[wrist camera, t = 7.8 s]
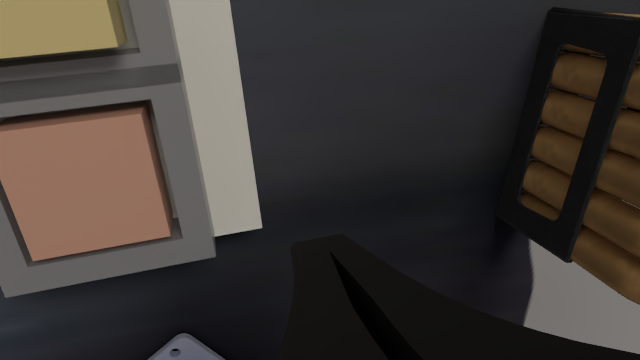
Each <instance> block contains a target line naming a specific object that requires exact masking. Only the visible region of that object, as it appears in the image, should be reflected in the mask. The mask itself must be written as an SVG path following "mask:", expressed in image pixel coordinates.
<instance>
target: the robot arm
mask: <svg viewBox="0 0 640 360" xmlns="http://www.w3.org/2000/svg"><path fill="white" fill-rule="evenodd" d="M291 255H292V263H293V272H294V293H293V300H292V306H291V312H290V317H289V322H288V326H287V330H286V334H285V338H284V342H283V345H282V348H281V352H280V355H279V358H278V360H640V354H636V353H631V352H626V351H621V350H617V349H612V348H607V347H602V346H597V345H592V344H587V343H582V342H578V341H574V340H570V339H566V338H563V337H559V336H555V335H551V334H548V333H543V332H540V331H537V330H534V329H530V328H527V327H524V326H521V325H517V324H514V323H511V322H509V321H506V320H503V319H500V318H497V317H495V316H492V315H489V314H486V313H483V312H481V311H478V310H476V309H473V308H471V307H468V306H466V305H464V304H462V303H459V302H457V301H455V300H453V299H451V298H448V297H446V296H444V295H442V294H440V293H438V292H436V291H434V290H432V289H430V288H428V287H426V286H424V285H422V284H421V283H419V282H417V281H415V280H413V279H411V278H410V277H408V276H406V275H404V274H403V273H401V272H399V271H398V270H396V269H394V268H393V267H391V266H390V265H388V264H387V263H385V262H383V261H382V260H380V259H379V258H377V257H376V256H374V255H373V254H371V253H370V252H368V251H367V250H366V249H364V248H363V247H361V246H360V245H358V244H357V243H355V242H354V241H353V240H351V239H350V238H348V237H347V236H345V235H344V234H338V235H332V236H327V237H322V238H317V239H312V240H307V241H302V242H297V243H294V244H293V246H292V247H291ZM176 348H177V349H179V350H178V351H172V349H176ZM148 360H225V359H224V358H222V357H221V356H219V355H218V354H217V353H215V352H214V351H212V350H211V349H210V348H208V347H207V346H205V345H204V344H202V343H201V342H200V341H198V340H197V339H195V338H194V337H193V336H191V335H189V334H186V333H182V334H179V335H177V336H175V337H174V338H173V339H172V340H170V341H169V342H168V343H167V344H166V345H164V346H163V347H162V348H161V349H160V350H158V351H157V352H156V353H155V354H154V355H152V356H151V357H150V358H149V359H148Z"/></svg>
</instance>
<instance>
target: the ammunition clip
mask: <svg viewBox="0 0 640 360" xmlns="http://www.w3.org/2000/svg"><path fill="white" fill-rule="evenodd" d="M591 54H592V55H599V56H604V57H605V58H602V57H596V56H590V55H591ZM636 61H640V15H632V14H614V13H603V12H594V11H586V10H576V9H566V8H557V7H553V8H552V9H551V10H549V11H548V14H547V18H546V22H545V26H544V29H543V33H542V37H541V41H540V45H539V49H538V53H537V57H536V61H535V65H534V69H533V73H532V76H531V80H530V84H529V88H528V92H527V96H526V100H525V104H524V108H523V112H522V116H521V120H520V123H519V127H518V131H517V135H516V139H515V143H514V147H513V151H512V155H511V159H510V163H509V167H508V170H507V174H506V178H505V182H504V186H503V190H502V194H501V198H500V202H499V206H498V210H497V214H496V216H497V217H498V218H500V219H501V220H503V221H504V222H506V223H507V224H509V225H510V226H512V227H513V228H515V229H516V230H518V231H519V232H521V233H522V234H524V235H525V236H527V237H528V238H530V239H531V240H533V241H534V242H536V243H537V244H539V245H540V246H542V247H543V248H545V249H546V250H548V251H550V252H551V253H552V254H554V255H556V256H557V257H558V258H560V259H561V260H563V261H564V262H567V263H569V262H570V263H571V262H572V261H574V262H575V263H577V264H578V265H579V266H581V267H582V268H584V269H585V270H587V271H588V272H589V273H591V274H592V275H594V276H595V277H597V278H598V279H599V280H601V281H602V282H604V283H605V284H606V285H608V286H609V287H611V288H612V289H613V290H615V291H616V292H618V293H619V294H621V295H622V296H624V297H625V298H627V299H629V300H631V301H633V302H635V303H637V304H640V209H639V208H640V160H638V159H640V64H638V63H636ZM578 94H579V95H583V96H587V97H591V98H595V99H596V100H593V99H589V98H585V97H582V96H578ZM621 106H626V107H628V108H627V109H625V108H621ZM575 135H576V136H575ZM583 138H584V139H583ZM607 147H608V148H607ZM609 148H611V149H609ZM612 149H613V150H612ZM637 158H638V159H637ZM594 186H595V187H594ZM596 187H597V188H596ZM598 188H599V189H598ZM623 200H624V201H623ZM625 201H626V202H625ZM627 202H628V203H627ZM629 203H630V204H629ZM631 204H632V205H631ZM633 205H634V206H633ZM635 206H636V207H638V208H636V207H635Z"/></svg>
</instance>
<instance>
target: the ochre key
mask: <svg viewBox="0 0 640 360" xmlns="http://www.w3.org/2000/svg"><path fill="white" fill-rule="evenodd" d="M126 41H128V40H127V35H126V31H125V27H124V23H123V19H122V15H121V10H120V6H119V2H118V0H0V59H2V58H12V57H22V56H32V55H42V54H52V53H62V52H72V51H83V50H93V49H103V48H113V47H119V46H120V45H122V44H123V43H125V42H126Z"/></svg>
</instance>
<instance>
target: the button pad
mask: <svg viewBox="0 0 640 360" xmlns="http://www.w3.org/2000/svg"><path fill="white" fill-rule="evenodd" d="M118 2H119V6H120V10H121V15H122V19H123V23H124V27H125V31H126V35H127V40H128V41H126V42H125V43H123V44H122V45H120V46H119V47H113V48H103V49H93V50H83V51H72V52H62V53H52V54H42V55H32V56H22V57H12V58H2V59H0V122H2V121H3V120H5V119H6V118H14V117H22V116H30V115H38V114H46V113H55V112H63V111H71V110H79V109H87V108H95V107H103V106H111V105H120V104H128V103H136V102H144V101H147V103H148V107H149V112H150V116H151V120H152V124H153V129H154V133H155V137H156V141H157V146H158V150H159V154H160V159H161V163H162V167H163V171H164V176H165V180H166V184H167V188H168V193H169V197H170V201H171V206H172V210H173V220H172V229H171V236H169V237H164V238H158V239H153V240H147V241H142V242H136V243H131V244H125V245H120V246H114V247H109V248H103V249H98V250H92V251H87V252H81V253H76V254H70V255H65V256H59V257H54V258H48V259H43V260H37V261H33V260H32V258H31V255H30V253H29V250H28V248H27V245H26V243H25V240H24V238H23V235H22V233H21V230H20V228H19V225H18V223H17V220H16V218H15V215H14V213H13V210H12V208H11V205H10V203H9V200H8V198H7V195H6V193H5V190H4V188H3V185H2V183H1V180H0V286H1V288H2V291H3V293H4V295H5V297H6V298H7V297H12V296H17V295H22V294H27V293H33V292H38V291H43V290H48V289H53V288H58V287H63V286H69V285H74V284H79V283H84V282H89V281H94V280H99V279H105V278H110V277H115V276H120V275H125V274H130V273H135V272H140V271H146V270H151V269H156V268H161V267H166V266H171V265H176V264H182V263H187V262H192V261H197V260H202V259H207V258H212V257H216V249H215V237H216V236H221V235H226V234H232V233H237V232H243V231H248V230H253V229H259V228H262V223H261V216H260V209H259V202H258V195H257V188H256V181H255V174H254V167H253V160H252V153H251V147H250V140H249V133H248V126H247V119H246V112H245V105H244V98H243V91H242V84H241V77H240V70H239V63H238V56H237V50H236V43H235V36H234V29H233V22H232V15H231V8H230V1H229V0H118Z"/></svg>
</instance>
